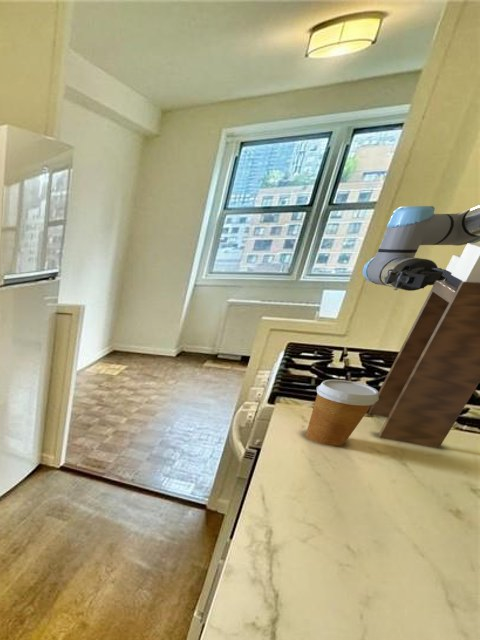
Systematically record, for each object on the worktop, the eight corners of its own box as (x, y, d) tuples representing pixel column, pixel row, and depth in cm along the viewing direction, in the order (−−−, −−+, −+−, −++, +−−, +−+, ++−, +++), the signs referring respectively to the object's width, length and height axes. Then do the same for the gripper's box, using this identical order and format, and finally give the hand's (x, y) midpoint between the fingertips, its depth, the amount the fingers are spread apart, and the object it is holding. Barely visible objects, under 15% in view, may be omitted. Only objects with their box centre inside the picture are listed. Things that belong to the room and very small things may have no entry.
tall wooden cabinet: (420, 421, 110) (506, 273, 94) (438, 449, 98) (538, 286, 83) (367, 412, 114) (440, 270, 99) (378, 438, 103) (463, 282, 87)
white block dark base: (476, 277, 102) (496, 240, 98) (506, 291, 89) (531, 249, 85) (436, 275, 105) (454, 239, 101) (459, 288, 92) (481, 248, 88)
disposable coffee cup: (361, 443, 101) (390, 389, 95) (341, 455, 97) (369, 399, 91) (308, 426, 108) (331, 375, 103) (287, 436, 104) (310, 384, 98)
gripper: (466, 290, 121) (533, 303, 103) (342, 287, 129) (384, 298, 111) (482, 258, 118) (554, 266, 100) (354, 257, 126) (399, 263, 108)
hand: (464, 283), depth 105 cm, fingers open, 13 cm apart
